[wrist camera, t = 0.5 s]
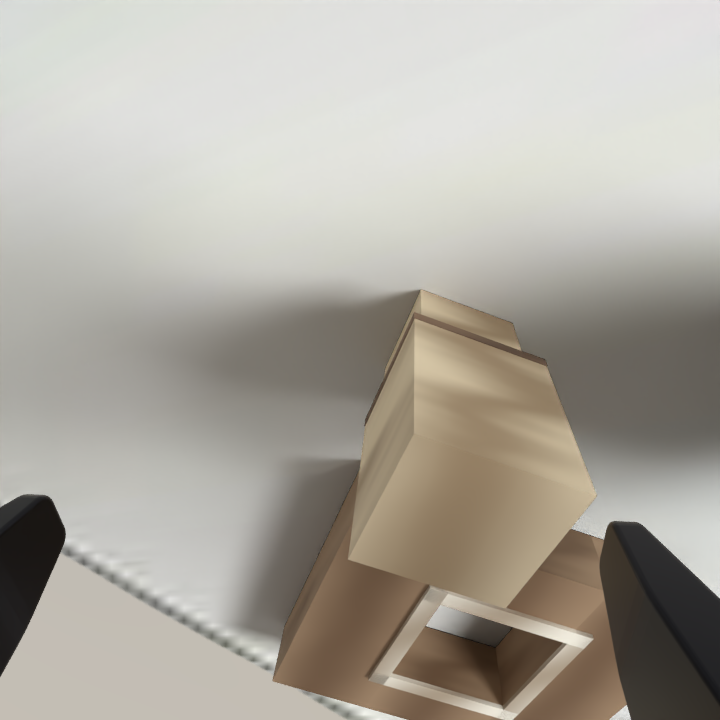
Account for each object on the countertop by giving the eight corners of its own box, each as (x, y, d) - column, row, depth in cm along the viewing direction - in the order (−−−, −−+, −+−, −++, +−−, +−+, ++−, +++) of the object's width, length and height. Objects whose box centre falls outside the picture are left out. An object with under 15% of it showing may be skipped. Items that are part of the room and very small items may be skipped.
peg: (528, 317, 20) (598, 495, 12) (474, 409, 22) (505, 609, 15) (414, 275, 20) (413, 432, 12) (371, 373, 22) (347, 559, 14)
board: (687, 567, 26) (720, 631, 23) (546, 704, 32) (558, 766, 30) (363, 460, 24) (357, 515, 21) (284, 626, 31) (271, 685, 28)
